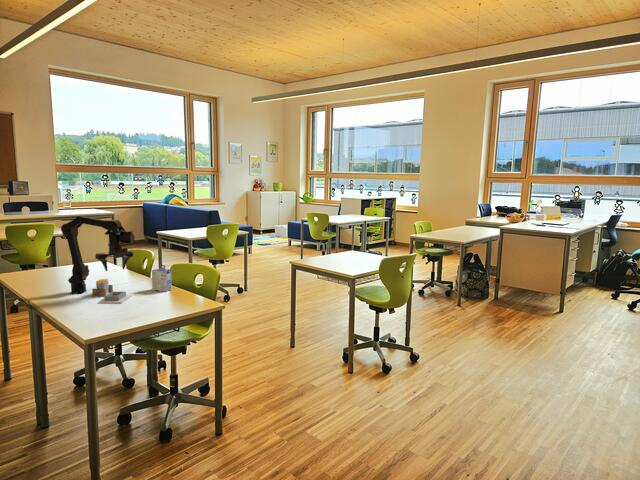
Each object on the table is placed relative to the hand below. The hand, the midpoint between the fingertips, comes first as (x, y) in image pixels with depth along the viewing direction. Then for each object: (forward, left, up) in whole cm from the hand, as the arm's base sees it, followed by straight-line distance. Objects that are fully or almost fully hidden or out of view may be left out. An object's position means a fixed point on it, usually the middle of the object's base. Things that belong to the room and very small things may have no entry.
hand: (115, 270), depth 247 cm
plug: (-7, -2, -13) cm, 15 cm away
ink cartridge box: (+23, +7, -14) cm, 28 cm away
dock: (+5, -14, -13) cm, 20 cm away
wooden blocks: (-7, -2, -13) cm, 15 cm away
